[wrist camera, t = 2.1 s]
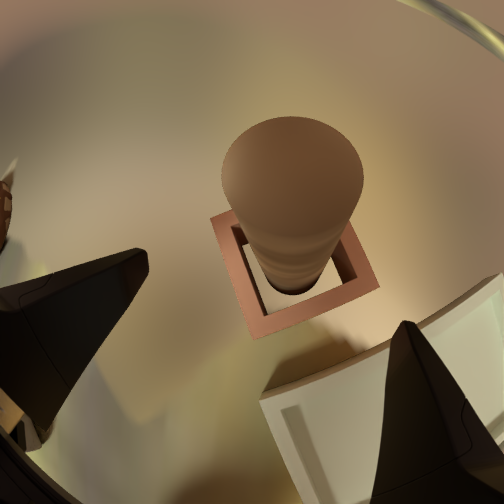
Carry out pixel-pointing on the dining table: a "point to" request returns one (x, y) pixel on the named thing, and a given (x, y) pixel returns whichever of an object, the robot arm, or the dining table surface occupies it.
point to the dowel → (292, 196)
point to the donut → (4, 211)
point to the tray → (372, 399)
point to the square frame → (261, 324)
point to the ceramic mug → (30, 435)
